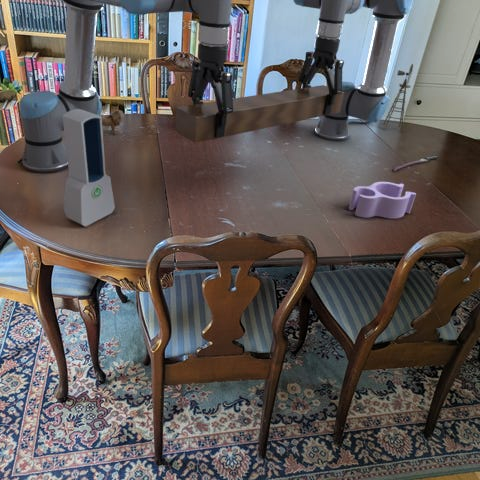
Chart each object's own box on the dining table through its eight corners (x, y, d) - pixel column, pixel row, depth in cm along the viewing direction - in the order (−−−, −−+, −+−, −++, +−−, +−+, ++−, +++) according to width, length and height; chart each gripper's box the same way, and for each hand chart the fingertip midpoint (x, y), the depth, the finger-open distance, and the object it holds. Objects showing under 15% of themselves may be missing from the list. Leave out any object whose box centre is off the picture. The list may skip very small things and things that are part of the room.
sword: (433, 155, 200) (434, 153, 199) (439, 158, 198) (440, 155, 197) (387, 170, 184) (387, 168, 183) (393, 173, 182) (394, 171, 181)
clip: (362, 221, 145) (367, 202, 142) (342, 202, 155) (347, 184, 151) (415, 216, 152) (421, 197, 148) (393, 198, 161) (398, 180, 158)
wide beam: (195, 143, 121) (196, 117, 117) (175, 131, 127) (175, 107, 123) (339, 112, 157) (344, 92, 153) (319, 104, 162) (323, 85, 158)
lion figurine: (123, 129, 193) (122, 108, 188) (125, 134, 189) (124, 112, 184) (86, 130, 188) (84, 108, 183) (87, 135, 184) (85, 113, 179)
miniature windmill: (401, 131, 224) (420, 67, 208) (384, 129, 225) (401, 64, 209) (400, 126, 231) (418, 63, 215) (383, 123, 232) (399, 60, 216)
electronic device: (82, 228, 128) (71, 122, 112) (63, 219, 131) (50, 114, 115) (115, 211, 137) (109, 111, 121) (97, 203, 140) (89, 104, 124)
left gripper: (253, 52, 112) (244, 141, 124) (199, 34, 125) (195, 116, 137) (229, 54, 107) (222, 146, 119) (175, 35, 120) (174, 120, 132)
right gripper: (364, 43, 138) (348, 117, 150) (309, 29, 151) (299, 98, 163) (348, 45, 133) (333, 121, 146) (293, 30, 147) (284, 101, 159)
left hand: (208, 130), depth 128 cm, fingers closed on wide beam, 9 cm apart
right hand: (315, 109), depth 154 cm, fingers closed on wide beam, 9 cm apart
